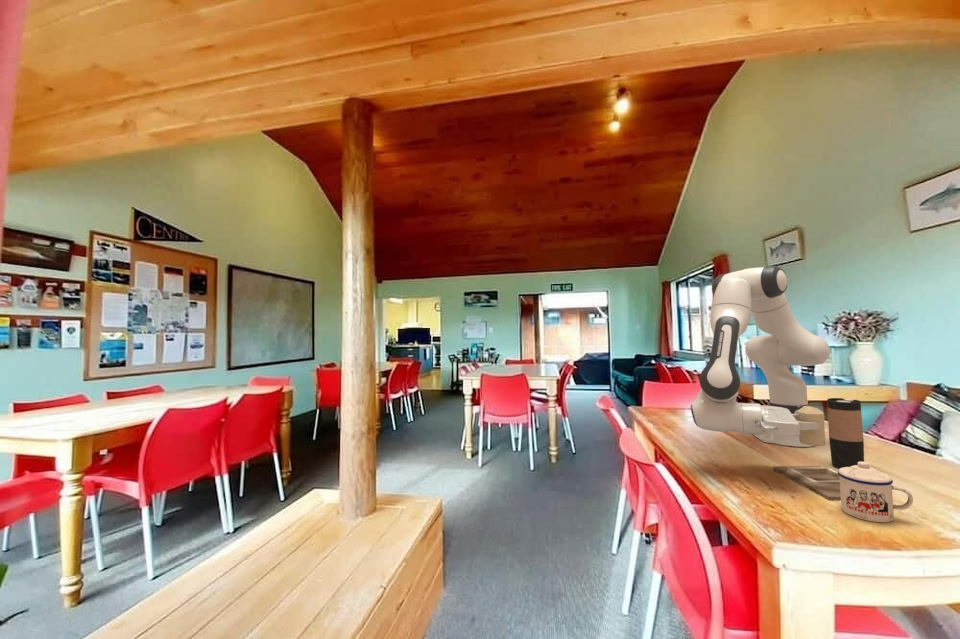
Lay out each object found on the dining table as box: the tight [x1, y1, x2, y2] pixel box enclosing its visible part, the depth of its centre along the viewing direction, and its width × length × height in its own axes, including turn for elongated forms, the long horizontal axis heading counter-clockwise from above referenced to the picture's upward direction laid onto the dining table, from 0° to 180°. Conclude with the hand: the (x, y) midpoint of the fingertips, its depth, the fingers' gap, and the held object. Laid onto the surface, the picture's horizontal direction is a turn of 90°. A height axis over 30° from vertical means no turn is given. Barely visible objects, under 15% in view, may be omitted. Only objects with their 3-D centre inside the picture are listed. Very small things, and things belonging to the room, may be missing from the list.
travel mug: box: [826, 397, 865, 470], centre depth 120 cm, size 8×8×20 cm
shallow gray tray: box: [772, 465, 841, 501], centre depth 109 cm, size 22×13×2 cm, turn 174°
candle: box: [798, 405, 826, 447], centre depth 110 cm, size 6×6×10 cm
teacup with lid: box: [837, 461, 914, 523], centre depth 91 cm, size 12×9×12 cm
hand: (815, 422), depth 110 cm, fingers closed on candle, 5 cm apart
